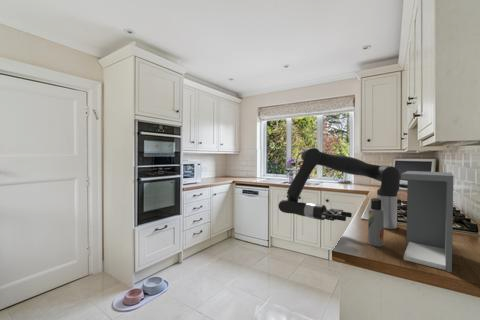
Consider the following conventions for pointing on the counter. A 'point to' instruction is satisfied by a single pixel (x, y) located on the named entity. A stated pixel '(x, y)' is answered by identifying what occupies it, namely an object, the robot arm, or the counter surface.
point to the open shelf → (430, 210)
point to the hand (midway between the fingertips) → (348, 216)
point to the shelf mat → (425, 255)
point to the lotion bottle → (375, 223)
